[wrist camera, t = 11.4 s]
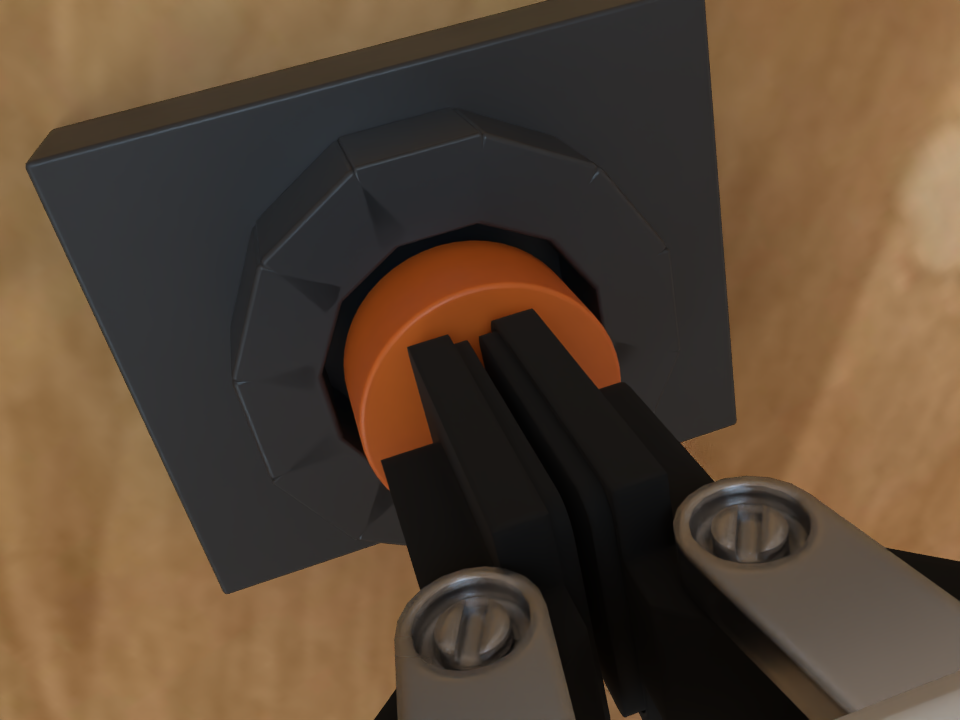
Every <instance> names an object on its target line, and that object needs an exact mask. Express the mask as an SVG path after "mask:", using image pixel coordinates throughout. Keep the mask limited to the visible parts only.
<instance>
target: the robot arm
mask: <svg viewBox="0 0 960 720" xmlns="http://www.w3.org/2000/svg"><path fill="white" fill-rule="evenodd" d="M479 344H480V349H481V353H482V358H483V362H484V366H485V368H484V367H483V365H482V363H481V362H480V360H479V358H478V357H477V355H476V353H475V352H474V350H473V348H472V347H471V345H470V343H469V342H468V340H465V341H462V342H459V343H455V344H454V343H453V342H452V340H451V338H450V336H449V335H448V334H447V335H444V336H441V337H437V338H434V339H431V340H428V341H425V342H421V343H418V344H415V345H412V346H408V347H407V350H408V355H409V359H410V362H411V366H412V370H413V373H414V377H415V380H416V384H417V387H418V391H419V395H420V398H421V402H422V405H423V409H424V412H425V416H426V420H427V423H428V427H429V430H430V434H431V437H432V441H433V443H432V444H429V445H426V446H423V447H419V448H416V449H413V450H410V451H407V452H404V453H401V454H398V455H395V456H392V457H389V458H386V459H383V460H381V463H382V467H383V470H384V473H385V476H386V480H387V483H388V486H389V490H390V493H391V496H392V499H393V503H394V506H395V509H396V512H397V516H398V519H399V522H400V525H401V529H402V532H403V535H404V538H405V542H406V545H407V548H408V552H409V555H410V558H411V561H412V565H413V568H414V571H415V574H416V578H417V581H418V584H419V587H420V591H419V592H418V593H417V594H416V595H415V596H414V597H413V598H412V599H411V600H410V601H409V602H408V603H407V605H406V607H405V608H404V610H403V612H402V614H401V616H400V617H399V619H398V621H397V627H396V633H395V639H394V641H395V666H396V690H395V691H394V693H393V694H392V695H391V697H390V698H389V700H388V701H387V702H386V704H385V705H384V707H383V708H382V709H381V711H380V712H379V714H378V715H377V716H376V718H375V719H374V720H610V714H609V709H608V704H607V699H606V694H605V689H604V684H603V680H604V682H605V684H606V686H607V688H608V690H609V692H610V694H611V696H612V698H613V700H614V702H615V704H616V706H617V707H618V709H619V711H620V713H621V714H622V716H623V717H627V716H630V715H632V714H635V713H638V712H639V714H640V716H641V718H642V720H960V561H954V560H949V559H943V558H938V557H933V556H927V555H922V554H916V553H911V552H906V551H900V550H895V549H889V548H885V547H883V546H882V545H880V544H879V543H878V542H876V541H875V540H874V539H872V538H871V537H869V536H868V535H867V534H865V533H864V532H862V531H861V530H860V529H858V528H857V527H855V526H854V525H853V524H851V523H850V522H848V521H847V520H846V519H844V518H843V517H841V516H840V515H839V514H837V513H836V512H834V511H833V510H832V509H830V508H829V507H828V506H826V505H825V504H823V503H822V502H821V501H819V500H818V499H816V498H815V497H814V496H812V495H811V494H809V493H808V492H806V491H804V490H802V489H800V488H798V487H797V486H795V485H793V484H791V483H788V482H784V481H780V480H777V479H773V478H769V477H756V476H741V477H733V478H725V479H721V480H718V481H715V482H714V481H713V480H712V478H711V477H710V476H709V475H708V474H707V473H706V472H705V470H704V469H703V468H702V467H701V466H700V465H699V464H698V463H697V461H696V460H695V459H694V458H693V457H692V456H691V455H690V454H689V452H688V451H687V450H686V449H685V448H684V447H683V446H682V445H681V443H680V442H679V441H678V440H677V439H676V438H675V437H674V435H673V434H672V433H671V432H670V431H669V430H668V429H667V428H666V426H665V425H664V424H663V423H662V422H661V421H660V420H659V419H658V417H657V416H656V415H655V414H654V413H653V412H652V411H651V410H650V408H649V407H648V406H647V405H646V404H645V403H644V402H643V400H642V399H641V398H640V397H639V396H638V395H637V394H636V393H635V391H634V390H633V389H632V388H631V387H630V386H629V385H627V384H626V383H625V382H619V383H616V384H613V385H610V386H607V387H604V388H600V389H598V388H597V386H596V385H595V384H594V383H593V382H592V380H591V379H590V378H589V377H588V375H587V374H586V373H585V372H584V370H583V369H582V368H581V367H580V366H579V364H578V363H577V362H576V361H575V359H574V358H573V357H572V356H571V355H570V353H569V352H568V351H567V350H566V348H565V347H564V346H563V345H562V343H561V342H560V341H559V340H558V339H557V337H556V336H555V335H554V334H553V332H552V331H551V330H550V329H549V328H548V326H547V325H546V324H545V323H544V321H543V320H542V319H541V318H540V316H539V315H538V314H537V313H536V312H535V310H533V309H532V308H531V309H528V310H525V311H521V312H518V313H515V314H512V315H509V316H505V317H502V318H499V319H496V320H492V321H491V333H488V334H484V335H481V336H479Z"/></svg>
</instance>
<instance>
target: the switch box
mask: <svg viewBox="0 0 960 720" xmlns="http://www.w3.org/2000/svg"><path fill="white" fill-rule="evenodd" d="M26 170H27V172H28V174H29V177H30V179H31V181H32V183H33V185H34V187H35V189H36V192H37V194H38V196H39V198H40V200H41V202H42V204H43V207H44V209H45V211H46V213H47V215H48V217H49V219H50V222H51V224H52V226H53V228H54V230H55V232H56V234H57V237H58V239H59V241H60V243H61V245H62V247H63V249H64V252H65V254H66V256H67V258H68V260H69V262H70V264H71V267H72V269H73V271H74V273H75V275H76V277H77V279H78V282H79V284H80V286H81V288H82V290H83V292H84V294H85V297H86V299H87V301H88V303H89V305H90V307H91V309H92V312H93V314H94V316H95V318H96V320H97V322H98V324H99V327H100V329H101V331H102V333H103V335H104V337H105V339H106V342H107V344H108V346H109V348H110V350H111V352H112V354H113V357H114V359H115V361H116V363H117V365H118V367H119V369H120V372H121V374H122V376H123V378H124V380H125V382H126V384H127V387H128V389H129V391H130V393H131V395H132V397H133V399H134V402H135V404H136V406H137V408H138V410H139V412H140V415H141V417H142V419H143V421H144V423H145V425H146V427H147V430H148V432H149V434H150V436H151V438H152V440H153V442H154V445H155V447H156V449H157V451H158V453H159V455H160V457H161V460H162V462H163V464H164V466H165V468H166V470H167V472H168V475H169V477H170V479H171V481H172V483H173V485H174V487H175V490H176V492H177V494H178V496H179V498H180V500H181V502H182V505H183V507H184V509H185V511H186V513H187V515H188V517H189V520H190V522H191V524H192V526H193V528H194V530H195V532H196V535H197V537H198V539H199V541H200V543H201V545H202V547H203V550H204V552H205V554H206V556H207V558H208V560H209V562H210V565H211V567H212V569H213V571H214V573H215V575H216V577H217V580H218V582H219V584H220V586H221V588H222V590H223V592H224V593H225V594H230V593H233V592H236V591H239V590H242V589H245V588H248V587H250V586H253V585H256V584H259V583H262V582H265V581H268V580H271V579H274V578H277V577H280V576H283V575H286V574H289V573H292V572H295V571H298V570H301V569H304V568H307V567H310V566H313V565H316V564H319V563H322V562H325V561H328V560H331V559H334V558H337V557H340V556H343V555H346V554H349V553H352V552H355V551H358V550H361V549H364V548H367V547H370V546H373V545H376V544H379V543H387V544H397V545H406V542H405V538H404V535H403V532H402V529H401V525H400V522H399V519H398V516H397V512H396V509H395V506H394V503H393V499H392V496H391V493H390V491H389V490H388V489H387V488H386V487H385V486H384V484H383V483H382V482H381V481H380V480H379V479H378V477H377V476H376V474H375V473H374V471H373V469H372V468H371V466H370V465H369V462H368V460H367V458H366V455H365V453H364V450H363V447H362V443H361V439H360V436H359V432H358V428H357V425H356V421H355V417H354V413H353V410H352V406H351V402H350V399H349V395H348V391H347V387H346V383H345V377H344V366H343V363H344V349H345V344H346V339H347V334H348V331H349V329H350V326H351V323H352V320H353V318H354V316H355V314H356V312H357V310H358V308H359V306H360V305H361V303H362V302H363V300H364V299H365V297H366V296H367V295H368V293H369V292H370V291H371V290H372V288H373V287H374V286H375V285H376V284H377V283H378V282H379V281H380V280H381V279H382V278H383V277H384V276H385V275H386V274H387V273H389V272H390V271H391V270H392V269H393V268H395V267H396V266H398V265H399V264H401V263H402V262H404V261H405V260H407V259H408V258H410V257H412V256H414V255H416V254H418V253H420V252H422V251H425V250H428V249H431V248H433V247H436V246H439V245H444V244H448V243H452V242H459V241H470V240H476V241H491V242H497V243H503V244H506V245H510V246H513V247H516V248H519V249H521V250H523V251H525V252H527V253H529V254H531V255H533V256H534V257H536V258H537V259H539V260H540V261H542V262H543V263H545V264H546V265H547V266H548V267H549V268H550V269H551V270H552V271H553V272H554V273H555V274H556V275H557V276H558V277H559V278H560V279H561V280H562V281H563V282H564V283H565V284H566V285H567V286H568V288H569V289H570V290H571V291H572V292H573V293H574V294H575V295H576V296H577V297H578V298H579V299H580V300H581V301H582V303H583V304H584V305H585V306H586V307H587V308H588V309H589V310H590V311H591V312H592V313H593V314H594V315H595V317H596V318H597V319H598V320H599V322H600V323H601V324H602V325H603V327H604V328H605V330H606V332H607V333H608V335H609V337H610V339H611V341H612V343H613V346H614V348H615V351H616V353H617V358H618V362H619V367H620V377H621V382H625V383H626V384H627V385H629V386H630V387H631V388H632V389H633V390H634V391H635V393H636V394H637V395H638V396H639V397H640V398H641V399H642V400H643V402H644V403H645V404H646V405H647V406H648V407H649V408H650V410H651V411H652V412H653V413H654V414H655V415H656V416H657V417H658V419H659V420H660V421H661V422H662V423H663V424H664V425H665V426H666V428H667V429H668V430H669V431H670V432H671V433H672V434H673V435H674V437H675V438H676V439H677V440H678V441H679V442H683V441H686V440H689V439H692V438H695V437H698V436H701V435H704V434H707V433H710V432H713V431H716V430H719V429H722V428H725V427H728V426H731V425H734V424H735V423H736V421H737V419H736V406H735V393H734V380H733V367H732V353H731V340H730V327H729V314H728V301H727V288H726V274H725V261H724V248H723V235H722V222H721V208H720V195H719V182H718V169H717V156H716V142H715V129H714V116H713V103H712V90H711V77H710V63H709V50H708V37H707V24H706V11H705V0H548V1H544V2H540V3H536V4H532V5H528V6H525V7H521V8H517V9H513V10H509V11H505V12H502V13H498V14H494V15H490V16H486V17H482V18H479V19H475V20H471V21H467V22H463V23H459V24H456V25H452V26H448V27H444V28H440V29H436V30H433V31H429V32H425V33H421V34H417V35H413V36H409V37H406V38H402V39H398V40H394V41H390V42H386V43H383V44H379V45H375V46H371V47H367V48H363V49H360V50H356V51H352V52H348V53H344V54H340V55H337V56H333V57H329V58H325V59H321V60H317V61H314V62H310V63H306V64H302V65H298V66H294V67H291V68H287V69H283V70H279V71H275V72H271V73H268V74H264V75H260V76H256V77H252V78H248V79H245V80H241V81H237V82H233V83H229V84H225V85H222V86H218V87H214V88H210V89H206V90H202V91H198V92H195V93H191V94H187V95H183V96H179V97H175V98H172V99H168V100H164V101H160V102H156V103H152V104H149V105H145V106H141V107H137V108H133V109H129V110H126V111H122V112H118V113H114V114H110V115H106V116H103V117H99V118H95V119H91V120H87V121H83V122H80V123H76V124H72V125H68V126H64V127H60V128H57V129H53V130H52V131H51V132H50V133H49V134H48V135H47V137H46V138H45V139H44V141H43V142H42V143H41V145H40V146H39V147H38V148H37V150H36V151H35V152H34V154H33V155H32V156H31V158H30V159H29V160H28V161H27V163H26Z"/></svg>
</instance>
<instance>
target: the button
mask: <svg viewBox="0 0 960 720" xmlns="http://www.w3.org/2000/svg"><path fill="white" fill-rule="evenodd" d="M531 308H532V309H533V310H535V312H536V313H537V314H538V315H539V316H540V318H541V319H542V320H543V321H544V323H545V324H546V325H547V326H548V328H549V329H550V330H551V331H552V332H553V334H554V335H555V336H556V337H557V339H558V340H559V341H560V342H561V343H562V345H563V346H564V347H565V348H566V350H567V351H568V352H569V353H570V355H571V356H572V357H573V358H574V359H575V361H576V362H577V363H578V364H579V366H580V367H581V368H582V369H583V370H584V372H585V373H586V374H587V375H588V377H589V378H590V379H591V380H592V382H593V383H594V384H595V385H596V386H597V388H598V389H600V388H604V387H607V386H610V385H613V384H616V383H619V382H621V377H620V367H619V362H618V358H617V353H616V351H615V348H614V346H613V343H612V341H611V339H610V337H609V335H608V333H607V332H606V330H605V328H604V327H603V325H602V324H601V323H600V322H599V320H598V319H597V318H596V317H595V315H594V314H593V313H592V312H591V311H590V310H589V309H588V308H587V307H586V306H585V305H584V304H583V303H582V301H581V300H580V299H579V298H578V297H577V296H576V295H575V294H574V293H573V292H572V291H571V290H570V289H569V288H568V286H567V285H566V284H565V283H564V282H563V281H562V280H561V279H560V278H559V277H558V276H557V275H556V274H555V273H554V272H553V271H552V270H551V269H550V268H549V267H548V266H547V265H546V264H545V263H543V262H542V261H540V260H539V259H537V258H536V257H534V256H533V255H531V254H529V253H527V252H525V251H523V250H521V249H519V248H516V247H513V246H510V245H506V244H503V243H497V242H491V241H476V240H470V241H459V242H452V243H448V244H444V245H439V246H436V247H433V248H431V249H428V250H425V251H422V252H420V253H418V254H416V255H414V256H412V257H410V258H408V259H407V260H405V261H404V262H402V263H401V264H399V265H398V266H396V267H395V268H393V269H392V270H391V271H390V272H389V273H387V274H386V275H385V276H384V277H383V278H382V279H381V280H380V281H379V282H378V283H377V284H376V285H375V286H374V287H373V288H372V290H371V291H370V292H369V293H368V295H367V296H366V297H365V299H364V300H363V302H362V303H361V305H360V306H359V308H358V310H357V312H356V314H355V316H354V318H353V320H352V323H351V326H350V329H349V331H348V334H347V339H346V344H345V349H344V363H343V366H344V377H345V383H346V387H347V391H348V395H349V399H350V402H351V406H352V410H353V413H354V417H355V421H356V425H357V428H358V432H359V436H360V439H361V443H362V447H363V450H364V453H365V455H366V458H367V460H368V462H369V465H370V466H371V468H372V469H373V471H374V473H375V474H376V476H377V477H378V479H379V480H380V481H381V482H382V483H383V484H384V486H385V487H386V488H387V489H388V490H389V486H388V483H387V480H386V476H385V473H384V470H383V467H382V463H381V460H383V459H386V458H389V457H392V456H395V455H398V454H401V453H404V452H407V451H410V450H413V449H416V448H419V447H423V446H426V445H429V444H432V443H433V441H432V437H431V434H430V430H429V427H428V423H427V420H426V416H425V412H424V409H423V405H422V402H421V398H420V395H419V391H418V387H417V384H416V380H415V377H414V373H413V370H412V366H411V362H410V359H409V355H408V350H407V347H408V346H412V345H415V344H418V343H421V342H425V341H428V340H431V339H434V338H437V337H441V336H444V335H447V334H448V335H449V336H450V338H451V340H452V342H453V343H454V344H455V343H459V342H462V341H465V340H468V342H469V343H470V345H471V347H472V348H473V350H474V352H475V353H476V355H477V357H478V358H479V360H480V362H481V363H482V365H483V367H484V368H485V366H484V362H483V358H482V353H481V349H480V344H479V336H481V335H484V334H488V333H491V321H492V320H496V319H499V318H502V317H505V316H509V315H512V314H515V313H518V312H521V311H525V310H528V309H531ZM389 491H390V490H389Z"/></svg>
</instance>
